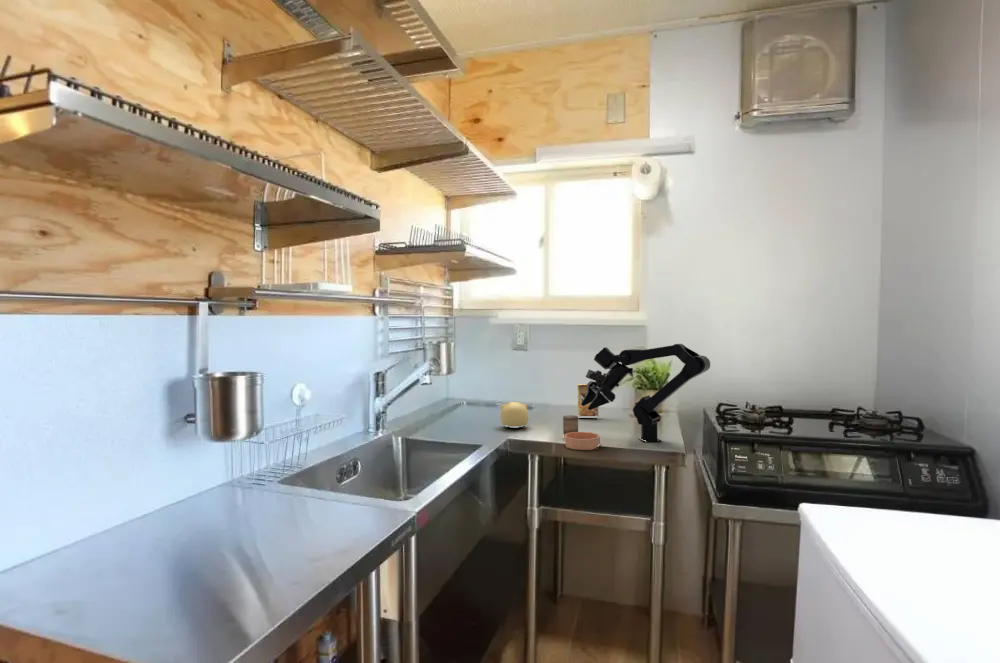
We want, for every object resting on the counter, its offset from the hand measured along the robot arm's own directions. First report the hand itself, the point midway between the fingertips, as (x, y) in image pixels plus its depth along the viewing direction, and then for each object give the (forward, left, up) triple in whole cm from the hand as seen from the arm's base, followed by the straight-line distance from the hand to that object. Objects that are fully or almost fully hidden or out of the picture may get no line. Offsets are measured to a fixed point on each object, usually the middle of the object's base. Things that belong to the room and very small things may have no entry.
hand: (585, 407), depth 193 cm
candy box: (+37, -11, -11) cm, 40 cm away
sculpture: (+22, +24, -11) cm, 34 cm away
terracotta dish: (-12, +5, -11) cm, 17 cm away
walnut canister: (0, +6, -11) cm, 13 cm away
